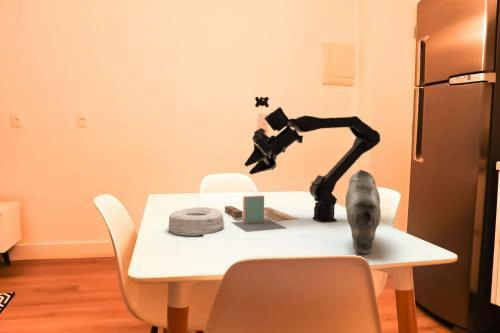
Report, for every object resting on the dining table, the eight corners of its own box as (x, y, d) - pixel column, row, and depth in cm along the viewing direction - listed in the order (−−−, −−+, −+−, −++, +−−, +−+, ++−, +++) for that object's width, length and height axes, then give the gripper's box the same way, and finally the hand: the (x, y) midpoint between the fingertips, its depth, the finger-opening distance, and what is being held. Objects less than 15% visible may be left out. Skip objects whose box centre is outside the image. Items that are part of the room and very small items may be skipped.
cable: (213, 222, 126) (213, 205, 126) (232, 234, 111) (232, 214, 110) (163, 227, 119) (163, 208, 119) (176, 240, 103) (176, 219, 103)
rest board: (269, 209, 151) (269, 207, 151) (297, 220, 129) (297, 218, 129) (251, 210, 148) (251, 208, 148) (277, 222, 126) (277, 220, 126)
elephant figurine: (382, 259, 87) (385, 175, 86) (344, 255, 89) (346, 174, 88) (374, 234, 111) (376, 168, 110) (344, 232, 114) (346, 168, 112)
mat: (268, 221, 128) (268, 219, 128) (287, 229, 115) (287, 228, 115) (231, 224, 123) (231, 222, 123) (246, 233, 110) (246, 231, 110)
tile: (262, 221, 125) (262, 195, 124) (264, 222, 123) (264, 196, 123) (243, 222, 122) (243, 196, 122) (245, 224, 121) (245, 197, 120)
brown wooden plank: (222, 214, 141) (222, 206, 140) (234, 213, 143) (234, 205, 142) (236, 222, 125) (236, 214, 125) (249, 221, 127) (249, 213, 127)
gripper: (270, 136, 138) (238, 161, 137) (264, 114, 121) (227, 143, 120) (289, 156, 135) (257, 183, 133) (285, 137, 117) (248, 167, 116)
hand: (247, 169), depth 126 cm, fingers open, 9 cm apart
